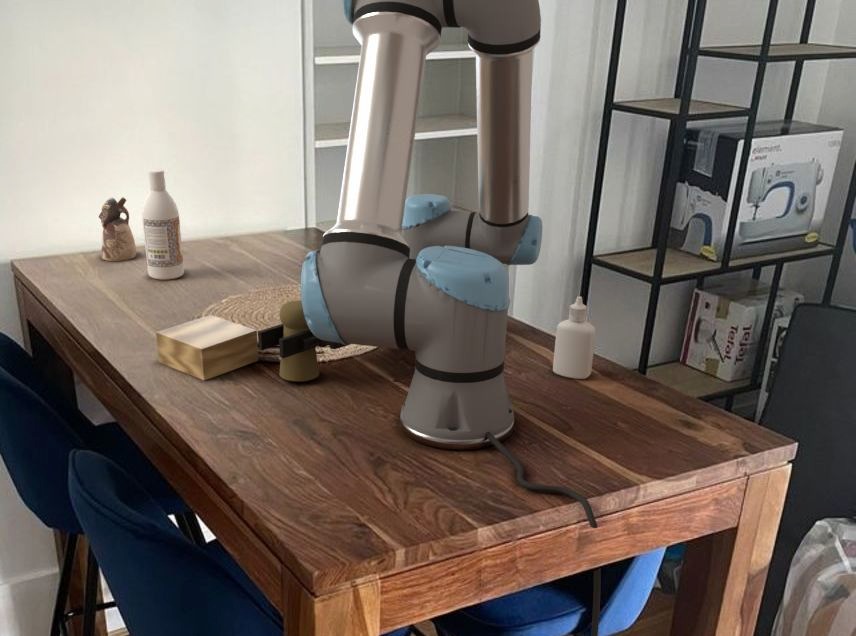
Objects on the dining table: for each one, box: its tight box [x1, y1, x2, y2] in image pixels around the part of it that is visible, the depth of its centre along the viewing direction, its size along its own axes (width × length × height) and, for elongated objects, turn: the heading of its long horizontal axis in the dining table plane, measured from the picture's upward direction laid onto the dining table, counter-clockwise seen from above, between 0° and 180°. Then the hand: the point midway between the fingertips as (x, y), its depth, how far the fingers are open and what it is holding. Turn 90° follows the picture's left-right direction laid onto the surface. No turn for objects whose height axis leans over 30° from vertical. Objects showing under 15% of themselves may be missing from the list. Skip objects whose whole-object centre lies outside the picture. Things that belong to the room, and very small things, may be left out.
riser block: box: [155, 314, 259, 381], centre depth 158 cm, size 11×11×5 cm
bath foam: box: [141, 168, 185, 281], centre depth 194 cm, size 7×7×20 cm
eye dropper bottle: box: [552, 295, 596, 380], centre depth 150 cm, size 4×6×12 cm
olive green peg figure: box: [278, 300, 320, 382], centre depth 150 cm, size 6×6×11 cm
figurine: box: [98, 196, 137, 262], centre depth 208 cm, size 7×7×12 cm
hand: (270, 344), depth 146 cm, fingers closed on olive green peg figure, 4 cm apart
